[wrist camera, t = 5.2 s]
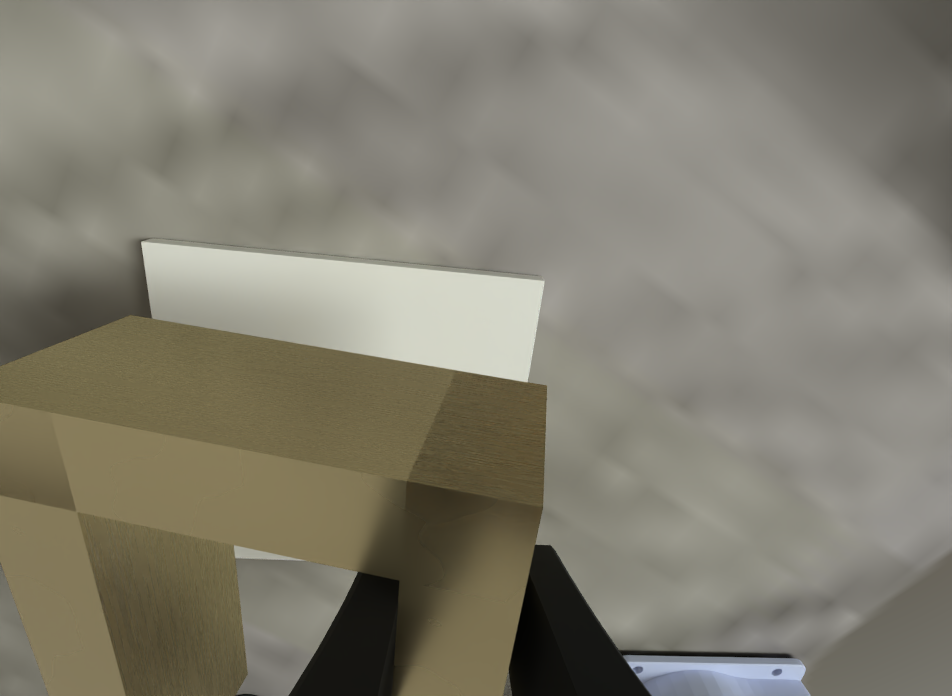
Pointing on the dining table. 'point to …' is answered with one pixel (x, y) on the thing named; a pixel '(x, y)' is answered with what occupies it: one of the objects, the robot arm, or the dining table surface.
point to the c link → (258, 502)
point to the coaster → (350, 307)
